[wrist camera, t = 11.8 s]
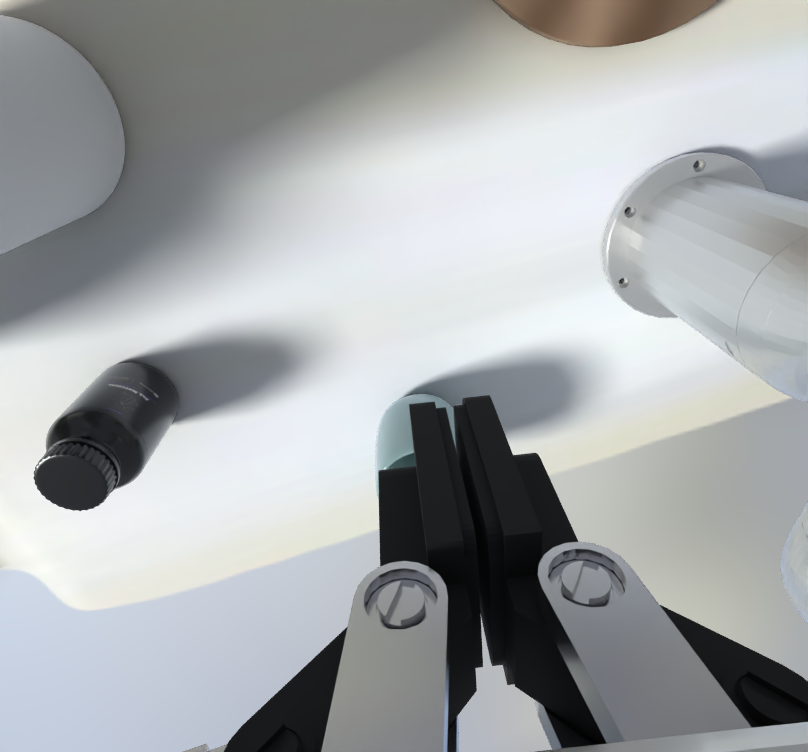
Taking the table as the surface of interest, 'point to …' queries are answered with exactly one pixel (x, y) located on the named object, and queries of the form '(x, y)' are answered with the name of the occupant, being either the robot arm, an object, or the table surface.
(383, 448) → the cup
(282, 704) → the robot arm
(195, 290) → the table surface
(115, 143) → the cylinder vase
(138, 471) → the supplement bottle
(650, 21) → the lever base
